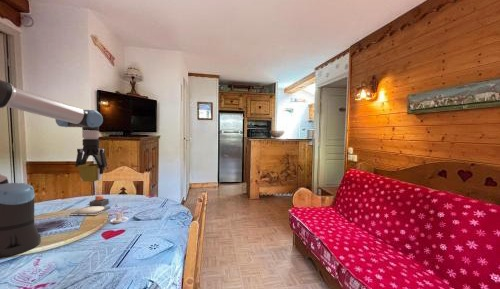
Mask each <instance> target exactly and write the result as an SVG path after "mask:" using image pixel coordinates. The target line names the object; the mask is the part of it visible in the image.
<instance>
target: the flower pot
mask: <svg viewBox="0 0 500 289" xmlns="http://www.w3.org/2000/svg"><path fill="white" fill-rule="evenodd" d="M77 168H78V174H79V176H80V179H81V178H82V180H81V181H83V182H85V183H87V182H89V183H90V182H91V183H93V182H97V181H99V180H98V168H99V166H98V164H97V163H85V165H80V166H78V167H77Z"/></svg>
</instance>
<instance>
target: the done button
mask: <svg viewBox="0 0 500 289" xmlns="http://www.w3.org/2000/svg"><path fill="white" fill-rule="evenodd" d="M94 198H95V199H94V200H95V201H103V199H104V195H103V194H102V195H101V194H99V195H96V196H94Z"/></svg>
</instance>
